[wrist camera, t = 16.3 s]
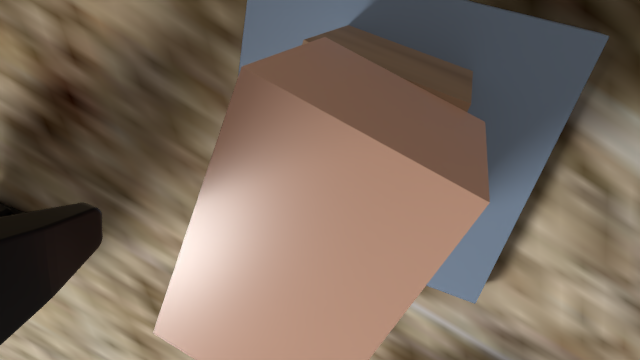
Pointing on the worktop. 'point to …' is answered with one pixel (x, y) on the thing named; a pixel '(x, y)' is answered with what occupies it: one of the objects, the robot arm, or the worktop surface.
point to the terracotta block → (322, 210)
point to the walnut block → (408, 64)
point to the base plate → (487, 91)
